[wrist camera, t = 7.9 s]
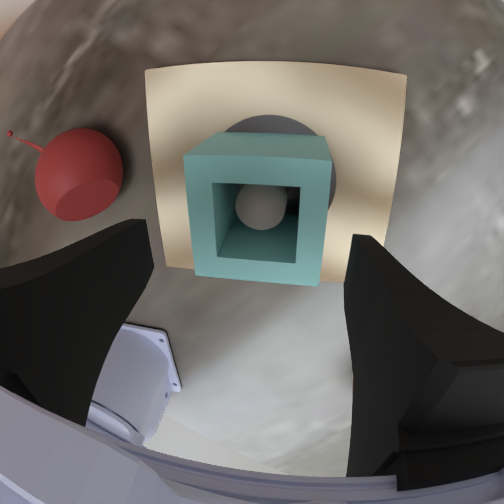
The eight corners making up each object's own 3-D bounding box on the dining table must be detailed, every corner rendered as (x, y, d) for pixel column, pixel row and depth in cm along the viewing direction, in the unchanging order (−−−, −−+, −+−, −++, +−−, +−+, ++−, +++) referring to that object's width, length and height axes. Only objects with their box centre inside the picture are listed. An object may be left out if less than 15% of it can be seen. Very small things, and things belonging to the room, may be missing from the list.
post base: (370, 271, 21) (383, 327, 16) (174, 255, 23) (142, 303, 18) (399, 75, 14) (435, 76, 10) (156, 69, 16) (105, 72, 12)
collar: (317, 233, 18) (318, 286, 14) (221, 226, 19) (195, 275, 15) (324, 136, 15) (332, 161, 11) (216, 132, 16) (183, 155, 12)
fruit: (122, 113, 20) (25, 92, 13) (148, 173, 19) (35, 164, 12) (81, 167, 23) (-6, 162, 16) (101, 226, 22) (4, 233, 15)
